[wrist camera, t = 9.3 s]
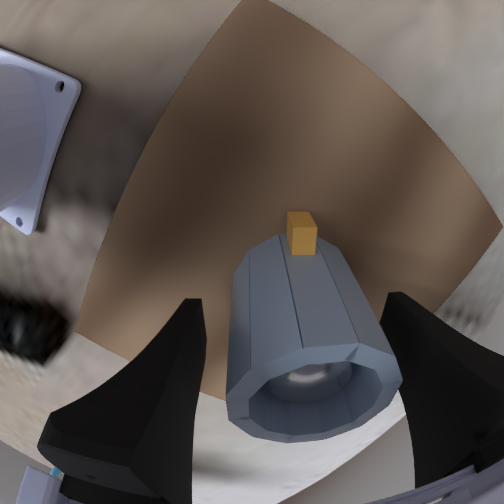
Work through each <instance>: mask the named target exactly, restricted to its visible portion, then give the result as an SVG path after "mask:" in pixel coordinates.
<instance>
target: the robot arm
mask: <svg viewBox="0 0 504 504" xmlns="http://www.w3.org/2000/svg"><path fill="white" fill-rule="evenodd" d="M62 82H64V85H65V86H64V89H63V91H62V92H61V91H60V85H61V83H62ZM80 92H81V84H80V82H79V81H78V80H76V79H74V78H72V77H70V76H67V75H65V74H63V73H61V72H58V71H56V70H54V69H52V68H49V67H47V66H45V65H42V64H40V63H37V62H35V61H33V60H30V59H28V58H25V57H23V56H20V55H18V54H15V53H12V52H10V51H7V50H4V49H2V48H0V216H1V217H2V218H4V219H5V220H6V221H8V222H9V223H10V224H12V225H13V226H14V227H16V228H17V229H19V230H20V231H21V232H23V233H24V234H26V235H30V234H32V233H33V232H34V231H35V230H36V226H37V222H38V217H39V213H40V208H41V204H42V200H43V196H44V192H45V189H46V185H47V182H48V178H49V175H50V171H51V168H52V165H53V162H54V159H55V156H56V153H57V150H58V147H59V144H60V141H61V139H62V136H63V133H64V131H65V128H66V126H67V123H68V121H69V118H70V116H71V113H72V111H73V109H74V106H75V104H76V102H77V100H78V97H79V95H80ZM20 218H21V219H22V222H23V223H22V222H21V220H20ZM379 324H380V326H381V328H382V330H383V332H384V334H385V336H386V338H387V340H388V342H389V344H390V347H391V349H392V351H393V353H394V355H395V357H396V360H397V363H398V366H399V369H400V373H401V376H402V379H403V381H402V383H401V385H400V386H399V388H398V390H399V392H400V395H401V398H402V401H403V404H404V408H405V412H406V416H407V420H408V424H409V429H410V434H411V440H412V448H413V455H414V468H415V489H414V490H411V491H408V492H405V493H401V494H398V495H395V496H392V497H388V498H385V499H381V500H377V501H373V502H370V503H366V504H427V503H430V502H432V501H435V500H437V499H439V498H442V497H443V498H442V500H441V501H439V502H437V503H435V504H504V356H502V355H500V354H498V353H496V352H493V351H491V350H489V349H487V348H485V347H483V346H481V345H479V344H477V343H476V342H474V341H472V340H471V339H469V338H467V337H466V336H464V335H462V334H461V333H459V332H458V331H456V330H455V329H453V328H452V327H450V326H449V325H447V324H446V323H445V322H443V321H442V320H441V319H439V318H438V317H436V316H435V315H434V314H432V313H431V312H430V311H428V310H427V309H426V308H424V307H423V306H422V305H420V304H419V303H418V302H416V301H415V300H414V299H412V298H411V297H409V296H408V295H406V294H405V293H403V292H401V291H400V292H388V295H387V299H386V302H385V306H384V309H383V312H382V316H381V319H380V322H379ZM206 347H207V335H206V328H205V320H204V313H203V305H202V298H185V299H184V300H183V301H182V303H181V304H180V305H179V307H178V308H177V309H176V311H175V312H174V313H173V315H172V316H171V317H170V319H169V320H168V321H167V322H166V324H165V325H164V326H163V327H162V329H161V330H160V331H159V332H158V333H157V335H156V336H155V337H154V338H153V339H152V340H151V341H150V342H149V343H148V345H147V346H146V347H145V348H144V349H143V350H142V351H141V352H140V353H139V354H138V355H137V356H136V357H135V358H134V359H133V360H132V361H131V362H130V363H128V364H127V365H126V366H125V367H124V368H123V369H122V370H120V371H119V372H118V373H117V374H115V375H114V376H113V377H111V378H110V379H109V380H107V381H106V382H105V383H103V384H102V385H101V386H99V387H98V388H96V389H95V390H93V391H91V392H90V393H88V394H86V395H85V396H83V397H81V398H80V399H78V400H76V401H74V402H72V403H70V404H68V405H66V406H64V407H62V408H60V409H58V410H56V411H53V412H51V413H50V415H49V417H48V420H47V422H46V424H45V427H44V429H43V432H42V434H41V437H40V439H39V442H38V444H37V448H38V450H39V452H40V453H41V454H42V455H43V456H44V457H45V458H46V459H47V460H48V461H49V462H50V463H52V464H53V465H54V466H55V467H57V468H58V469H59V470H60V471H62V472H63V473H64V477H63V481H62V480H60V479H59V478H57V477H55V476H52V475H50V474H48V473H45V472H43V471H41V470H38V469H36V468H34V467H32V466H27V469H26V472H25V475H24V478H23V481H22V484H21V487H20V490H19V494H18V497H17V500H16V504H192V453H193V435H194V420H195V413H196V407H197V402H198V397H199V392H200V386H201V381H202V376H203V371H204V366H205V360H206Z"/></svg>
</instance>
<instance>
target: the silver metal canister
mask: <svg viewBox="0 0 504 504" xmlns="http://www.w3.org/2000/svg"><path fill="white" fill-rule="evenodd" d="M351 375H352V366H351V363H350V361H342V362H332V363H321V364H307V365H305V366H302V367H300V368H297V369H295V370H292V371H290V372H287V373H285V374H282V375H280V376H277V377H274V378H272V379H269V380H268V386H269V389H270V391H271V392H272V393H273V394H274V395H275V396H276V397H278V398H280V399H282V400H284V401H288V402H294V403H307V402H314V401H318V400H322V399H324V398H327V397H329V396H331V395H333V394H335V393H337V392H338V391H339V390H341V389H342V388H343V387H344V386H345V385H346V384H347V383H348V381H349V380H350V378H351Z"/></svg>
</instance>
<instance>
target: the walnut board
mask: <svg viewBox="0 0 504 504" xmlns="http://www.w3.org/2000/svg"><path fill="white" fill-rule="evenodd" d="M287 212H309V213H310V215H311V217H312V218H313V220H314V222H315V224H316V226H317V236H318V237H320V238H322V239H324V240H325V241H327V242H329V243H331V244H332V245H334V246H336V247H338V248H339V249H340V251H341V253H342V255H343V257H344V258H345V260H346V262H347V264H348V265H349V267H350V269H351V271H352V273H353V274H354V276H355V278H356V280H357V282H358V284H359V286H360V287H361V289H362V291H363V293H364V295H365V297H366V299H367V301H368V303H369V304H370V306H371V308H372V310H373V312H374V314H375V316H376V318H377V320H378V322H380V319H381V316H382V312H383V309H384V306H385V302H386V299H387V295H388V292H400V291H401V292H403V293H405V294H406V295H408V296H409V297H411V298H412V299H414V300H415V301H416V302H418V303H419V304H420V305H422V306H423V307H424V308H426V309H427V310H428V311H430V312H431V313H432V314H433V313H434V312H435V311H436V310H437V309H438V308H439V307H440V306H441V305H442V303H443V302H444V301H445V300H446V299H447V298H448V297H449V296H450V295H451V293H452V292H453V291H454V290H455V289H456V288H457V287H458V285H459V284H460V283H461V282H462V281H463V279H464V278H465V277H466V276H467V275H468V273H469V272H470V271H471V270H472V268H473V267H474V266H475V265H476V263H477V262H478V261H479V260H480V258H481V257H482V256H483V254H484V253H485V252H486V250H487V249H488V248H489V246H490V245H491V243H492V242H493V241H494V239H495V238H496V236H497V235H498V234H499V232H500V231H501V229H502V228H503V226H502V224H501V222H500V220H499V219H498V217H497V216H496V214H495V212H494V211H493V209H492V208H491V206H490V204H489V203H488V201H487V200H486V198H485V197H484V195H483V194H482V192H481V191H480V189H479V188H478V187H477V185H476V184H475V182H474V181H473V180H472V178H471V177H470V175H469V174H468V173H467V171H466V170H465V169H464V167H463V166H462V165H461V164H460V162H459V161H458V160H457V158H456V157H455V156H454V155H453V153H452V152H451V151H450V150H449V149H448V147H447V146H446V145H445V144H444V143H443V141H442V140H441V139H440V138H439V137H438V136H437V134H436V133H435V132H434V131H433V130H432V129H431V128H430V127H429V126H428V124H427V123H426V122H425V121H424V120H423V119H422V118H421V117H420V116H419V115H418V114H417V113H416V112H415V111H414V110H413V109H412V108H411V107H410V106H409V105H408V104H407V103H406V102H405V101H404V100H403V99H402V98H401V97H400V96H399V95H398V94H397V93H396V92H395V91H394V90H393V89H392V88H391V87H389V86H388V85H387V84H386V83H385V82H384V81H383V80H382V79H381V78H379V77H378V76H377V75H376V74H375V73H374V72H372V71H371V70H370V69H369V68H368V67H366V66H365V65H364V64H363V63H362V62H360V61H359V60H358V59H357V58H355V57H354V56H353V55H351V54H350V53H349V52H348V51H346V50H345V49H344V48H342V47H341V46H340V45H338V44H337V43H335V42H334V41H333V40H331V39H330V38H328V37H327V36H326V35H324V34H323V33H321V32H320V31H318V30H317V29H315V28H314V27H312V26H311V25H309V24H308V23H306V22H304V21H303V20H301V19H300V18H298V17H296V16H295V15H293V14H291V13H290V12H288V11H286V10H284V9H283V8H281V7H279V6H277V5H276V4H274V3H272V2H270V1H268V0H242V1H241V2H240V3H239V4H238V5H237V7H236V8H235V9H234V10H233V12H232V13H231V14H230V15H229V17H228V18H227V19H226V20H225V22H224V23H223V24H222V26H221V27H220V28H219V30H218V31H217V32H216V34H215V35H214V36H213V38H212V39H211V40H210V42H209V43H208V44H207V46H206V47H205V49H204V50H203V51H202V53H201V54H200V56H199V57H198V59H197V60H196V62H195V63H194V65H193V66H192V68H191V69H190V71H189V72H188V74H187V75H186V77H185V78H184V80H183V81H182V83H181V85H180V86H179V88H178V89H177V91H176V93H175V94H174V96H173V98H172V99H171V101H170V103H169V104H168V106H167V108H166V109H165V111H164V113H163V115H162V116H161V118H160V120H159V122H158V123H157V125H156V127H155V129H154V131H153V133H152V134H151V136H150V138H149V140H148V142H147V144H146V146H145V148H144V150H143V152H142V154H141V156H140V158H139V160H138V162H137V164H136V166H135V168H134V170H133V172H132V174H131V176H130V178H129V180H128V183H127V185H126V187H125V189H124V191H123V194H122V196H121V198H120V201H119V203H118V205H117V207H116V210H115V212H114V215H113V217H112V220H111V222H110V224H109V227H108V230H107V232H106V235H105V237H104V240H103V243H102V245H101V248H100V251H99V253H98V256H97V259H96V262H95V265H94V268H93V271H92V274H91V277H90V280H89V283H88V286H87V289H86V293H85V296H84V299H83V303H82V306H81V310H80V313H79V317H78V321H77V324H76V328H75V332H77V333H79V334H80V335H82V336H84V337H86V338H87V339H89V340H91V341H93V342H94V343H96V344H98V345H100V346H102V347H104V348H105V349H107V350H109V351H111V352H113V353H115V354H117V355H119V356H121V357H123V358H125V359H127V360H129V361H132V360H133V359H134V358H135V357H136V356H137V355H138V354H139V353H140V352H141V351H142V350H143V349H144V348H145V347H146V346H147V345H148V343H149V342H150V341H151V340H152V339H153V338H154V337H155V336H156V335H157V333H158V332H159V331H160V330H161V329H162V327H163V326H164V325H165V324H166V322H167V321H168V320H169V319H170V317H171V316H172V315H173V313H174V312H175V311H176V309H177V308H178V307H179V305H180V304H181V303H182V301H183V300H184V299H185V298H202V305H203V313H204V320H205V328H206V335H207V347H206V360H205V366H204V371H203V376H202V381H201V386H200V392H202V393H205V394H208V395H210V396H213V397H216V398H219V399H222V400H224V401H226V397H225V394H226V377H227V360H228V344H229V329H230V314H231V299H232V285H233V274H234V273H235V271H236V270H237V268H238V266H239V265H240V263H241V262H242V260H243V258H244V257H245V255H246V254H247V252H248V250H249V249H251V248H253V247H255V246H257V245H259V244H260V243H262V242H264V241H266V240H268V239H270V238H272V237H274V236H275V235H277V234H287Z"/></svg>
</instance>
